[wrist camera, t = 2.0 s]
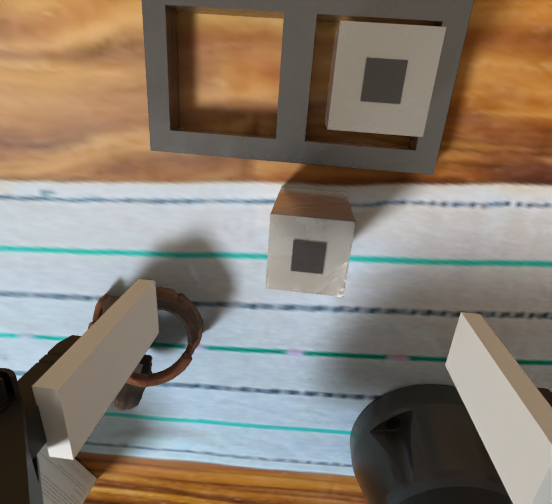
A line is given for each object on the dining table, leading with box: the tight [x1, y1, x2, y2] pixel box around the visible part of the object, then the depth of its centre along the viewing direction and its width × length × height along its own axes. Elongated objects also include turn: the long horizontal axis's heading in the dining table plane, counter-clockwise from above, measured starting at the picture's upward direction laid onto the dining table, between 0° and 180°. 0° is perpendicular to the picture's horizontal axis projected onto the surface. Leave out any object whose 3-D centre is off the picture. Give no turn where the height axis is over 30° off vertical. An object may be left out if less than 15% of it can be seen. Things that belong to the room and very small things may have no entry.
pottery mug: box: [88, 287, 203, 410], centre depth 33 cm, size 12×10×8 cm
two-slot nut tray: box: [142, 0, 474, 175], centre depth 25 cm, size 20×10×2 cm, turn 86°
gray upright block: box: [325, 21, 446, 137], centre depth 22 cm, size 5×5×8 cm
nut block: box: [266, 187, 355, 297], centre depth 26 cm, size 5×5×8 cm
